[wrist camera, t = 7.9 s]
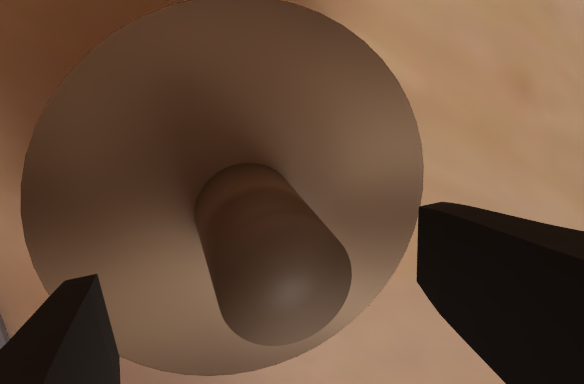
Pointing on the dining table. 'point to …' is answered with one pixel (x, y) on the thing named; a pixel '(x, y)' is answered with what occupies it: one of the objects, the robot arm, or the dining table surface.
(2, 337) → the mat
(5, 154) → the dining table surface
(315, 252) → the lid
